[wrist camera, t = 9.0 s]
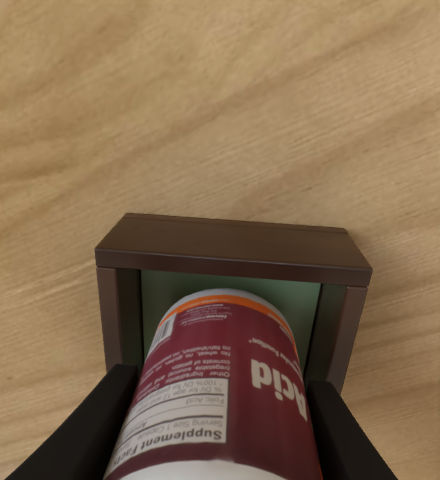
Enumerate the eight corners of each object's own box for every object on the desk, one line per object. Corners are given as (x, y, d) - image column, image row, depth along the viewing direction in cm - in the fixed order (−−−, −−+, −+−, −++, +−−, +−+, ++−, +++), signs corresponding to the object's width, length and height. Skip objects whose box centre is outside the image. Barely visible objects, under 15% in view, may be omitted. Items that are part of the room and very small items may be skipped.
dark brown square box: (310, 392, 15) (324, 458, 13) (134, 377, 16) (112, 439, 13) (345, 227, 12) (373, 269, 10) (125, 212, 13) (93, 247, 10)
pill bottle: (314, 370, 13) (426, 816, 5) (194, 407, 14) (134, 822, 6) (261, 260, 11) (308, 670, 3) (130, 311, 12) (-66, 713, 4)
